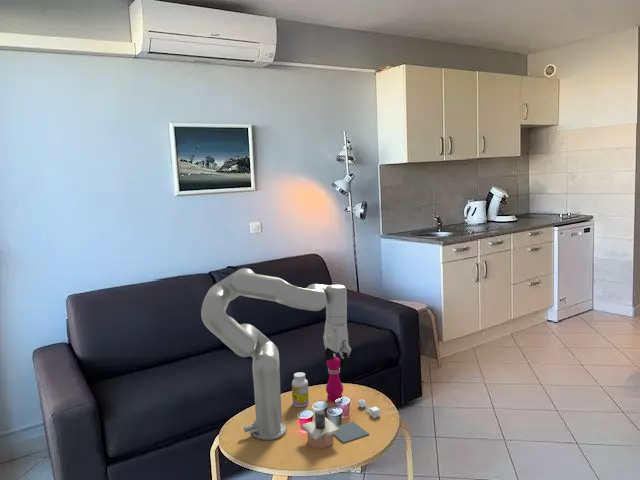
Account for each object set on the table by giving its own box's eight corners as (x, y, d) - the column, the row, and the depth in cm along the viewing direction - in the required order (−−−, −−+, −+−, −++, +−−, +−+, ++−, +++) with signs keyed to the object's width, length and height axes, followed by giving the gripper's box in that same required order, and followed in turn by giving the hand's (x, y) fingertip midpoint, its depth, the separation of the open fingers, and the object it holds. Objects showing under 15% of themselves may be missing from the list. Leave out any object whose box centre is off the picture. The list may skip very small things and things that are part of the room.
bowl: (315, 450, 183) (315, 438, 182) (303, 439, 191) (303, 427, 190) (338, 443, 187) (337, 431, 186) (325, 432, 195) (325, 420, 194)
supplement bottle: (290, 401, 220) (289, 372, 218) (306, 399, 222) (305, 370, 220) (295, 408, 214) (293, 378, 212) (310, 406, 216) (309, 376, 214)
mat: (343, 443, 187) (343, 442, 187) (327, 430, 196) (327, 429, 196) (369, 434, 192) (369, 433, 192) (353, 422, 202) (353, 421, 202)
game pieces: (380, 416, 206) (380, 409, 205) (373, 419, 204) (373, 411, 204) (363, 404, 216) (363, 397, 216) (356, 406, 215) (356, 399, 214)
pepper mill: (339, 394, 226) (338, 349, 223) (346, 401, 219) (345, 355, 216) (323, 397, 223) (322, 352, 220) (330, 404, 217) (328, 357, 214)
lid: (314, 439, 182) (314, 423, 181) (301, 427, 190) (300, 411, 189) (339, 431, 186) (339, 415, 185) (325, 419, 195) (325, 404, 194)
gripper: (315, 314, 198) (315, 358, 200) (341, 326, 183) (341, 373, 186) (332, 311, 202) (332, 354, 204) (358, 323, 187) (358, 369, 190)
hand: (336, 363), depth 195 cm, fingers open, 9 cm apart
